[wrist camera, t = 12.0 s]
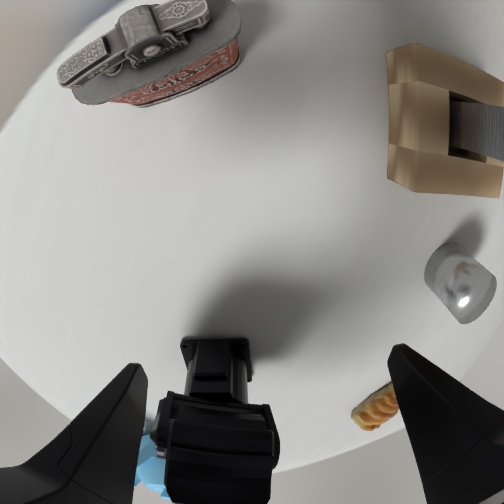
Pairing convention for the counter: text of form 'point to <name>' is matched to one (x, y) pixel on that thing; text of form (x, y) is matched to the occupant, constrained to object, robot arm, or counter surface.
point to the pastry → (376, 409)
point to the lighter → (156, 54)
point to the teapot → (151, 467)
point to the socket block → (437, 123)
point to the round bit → (460, 282)
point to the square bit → (477, 128)
